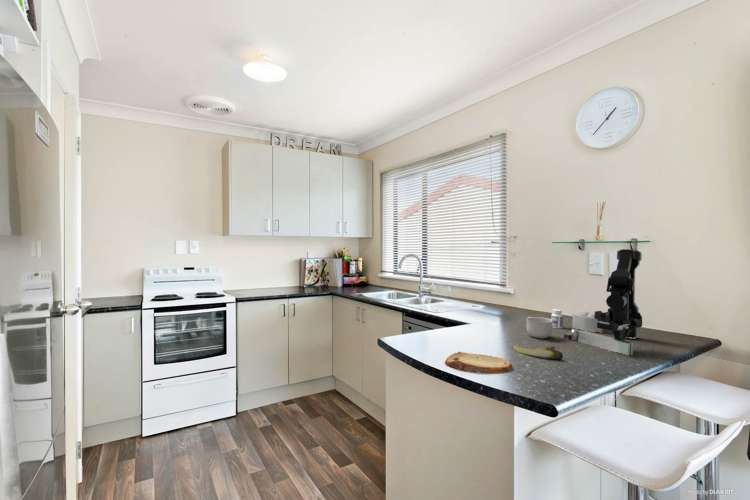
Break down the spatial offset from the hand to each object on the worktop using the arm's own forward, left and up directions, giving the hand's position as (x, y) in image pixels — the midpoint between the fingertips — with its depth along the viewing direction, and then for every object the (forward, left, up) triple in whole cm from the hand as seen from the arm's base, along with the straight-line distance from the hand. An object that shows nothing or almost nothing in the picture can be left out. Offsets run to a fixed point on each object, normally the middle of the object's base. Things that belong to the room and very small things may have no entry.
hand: (619, 345), depth 140 cm
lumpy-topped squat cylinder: (-21, -28, -2) cm, 35 cm away
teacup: (+14, -27, -2) cm, 31 cm away
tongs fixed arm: (+4, -7, -2) cm, 8 cm away
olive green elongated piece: (+36, -8, -2) cm, 37 cm away
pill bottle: (-10, -37, -2) cm, 39 cm away
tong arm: (+2, -4, -2) cm, 5 cm away
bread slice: (+66, -3, -2) cm, 67 cm away
